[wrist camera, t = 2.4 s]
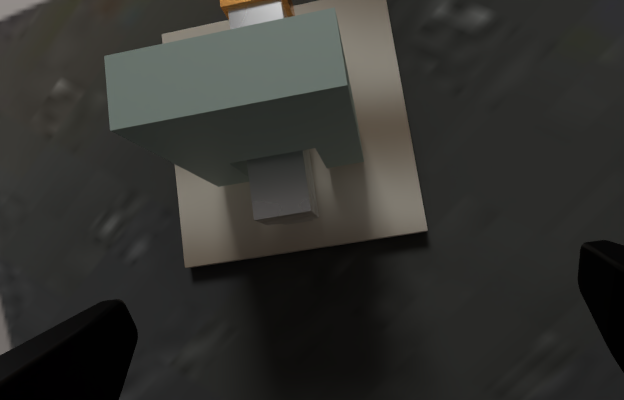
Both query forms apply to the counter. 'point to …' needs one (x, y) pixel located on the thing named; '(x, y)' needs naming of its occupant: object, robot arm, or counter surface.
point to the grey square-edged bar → (284, 167)
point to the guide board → (321, 162)
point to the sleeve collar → (238, 97)
